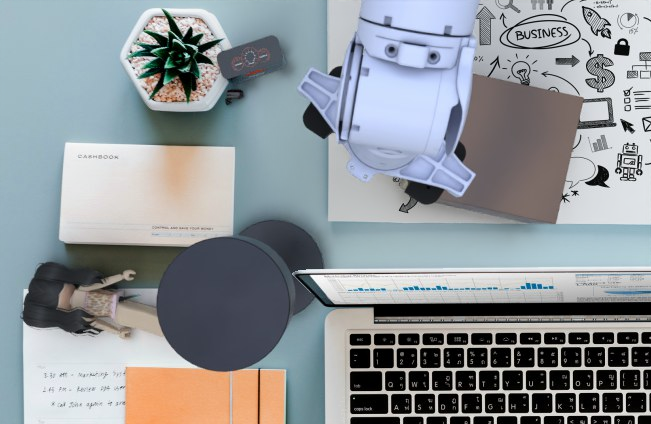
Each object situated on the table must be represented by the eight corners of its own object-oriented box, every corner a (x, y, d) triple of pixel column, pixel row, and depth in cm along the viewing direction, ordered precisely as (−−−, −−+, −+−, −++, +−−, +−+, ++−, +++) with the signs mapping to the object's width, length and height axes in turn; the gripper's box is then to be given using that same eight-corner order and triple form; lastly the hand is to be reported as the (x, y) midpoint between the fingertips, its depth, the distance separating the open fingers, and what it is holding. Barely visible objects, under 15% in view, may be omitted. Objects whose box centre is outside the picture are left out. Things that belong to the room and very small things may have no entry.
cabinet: (408, 196, 66) (417, 193, 58) (433, 86, 66) (445, 67, 58) (530, 224, 65) (556, 224, 57) (555, 112, 65) (584, 97, 57)
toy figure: (184, 271, 67) (40, 255, 66) (170, 285, 60) (10, 267, 60) (179, 338, 67) (36, 322, 67) (164, 358, 61) (6, 341, 61)
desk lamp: (238, 210, 66) (159, 203, 38) (333, 231, 66) (323, 240, 38) (217, 305, 66) (122, 367, 38) (311, 327, 66) (286, 406, 38)
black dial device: (213, 64, 67) (207, 56, 63) (279, 42, 66) (276, 33, 63) (227, 106, 66) (221, 101, 63) (293, 85, 66) (290, 78, 63)
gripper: (266, 112, 43) (285, 138, 57) (448, 232, 43) (423, 229, 56) (324, 24, 43) (329, 71, 57) (507, 143, 43) (468, 162, 56)
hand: (379, 145), depth 56 cm, fingers open, 7 cm apart
